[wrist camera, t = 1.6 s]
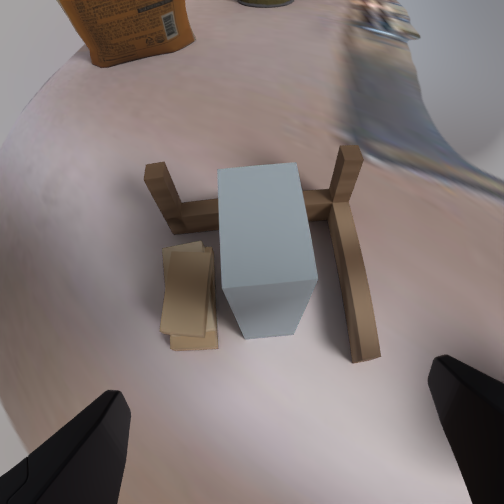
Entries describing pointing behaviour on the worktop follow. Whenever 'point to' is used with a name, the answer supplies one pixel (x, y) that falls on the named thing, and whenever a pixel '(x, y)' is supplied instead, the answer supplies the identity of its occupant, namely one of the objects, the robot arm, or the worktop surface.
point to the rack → (317, 208)
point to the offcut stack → (189, 297)
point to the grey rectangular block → (265, 248)
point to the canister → (265, 3)
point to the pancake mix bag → (129, 28)
